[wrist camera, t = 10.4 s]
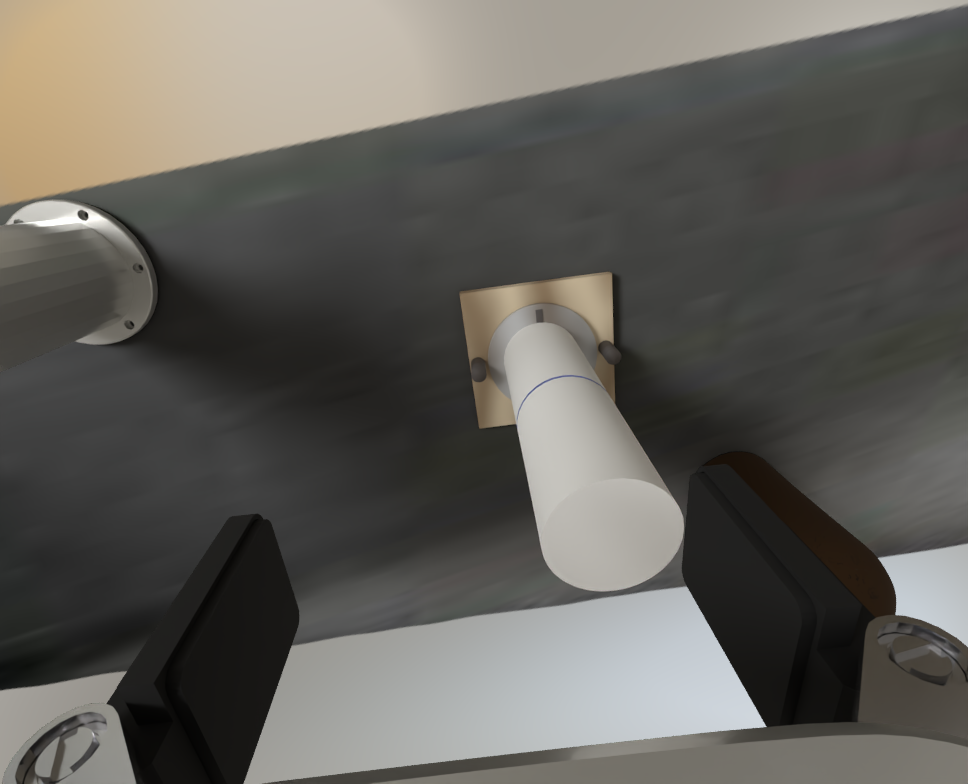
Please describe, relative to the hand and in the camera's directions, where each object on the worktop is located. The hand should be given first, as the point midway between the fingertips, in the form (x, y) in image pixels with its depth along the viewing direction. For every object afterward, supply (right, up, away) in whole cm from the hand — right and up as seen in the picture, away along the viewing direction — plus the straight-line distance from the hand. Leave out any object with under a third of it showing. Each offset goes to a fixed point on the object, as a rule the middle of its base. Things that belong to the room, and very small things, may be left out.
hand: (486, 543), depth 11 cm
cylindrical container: (+5, +7, +37) cm, 38 cm away
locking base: (+5, +7, +38) cm, 39 cm away
